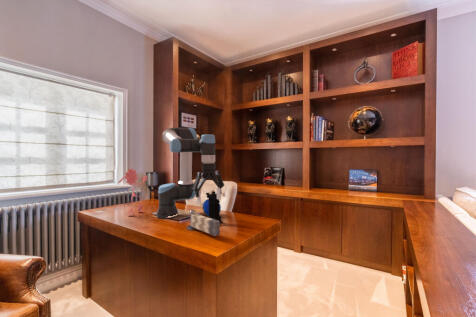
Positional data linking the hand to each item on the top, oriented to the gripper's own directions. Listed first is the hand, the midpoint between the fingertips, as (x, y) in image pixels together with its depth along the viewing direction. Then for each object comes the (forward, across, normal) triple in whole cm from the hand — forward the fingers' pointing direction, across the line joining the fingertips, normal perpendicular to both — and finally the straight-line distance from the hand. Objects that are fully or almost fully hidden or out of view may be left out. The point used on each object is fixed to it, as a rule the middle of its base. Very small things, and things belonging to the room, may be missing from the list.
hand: (209, 201), depth 128 cm
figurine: (+20, -13, +81) cm, 85 cm away
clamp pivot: (+19, 0, +17) cm, 26 cm away
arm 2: (+17, +1, +4) cm, 18 cm away
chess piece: (+20, +16, +16) cm, 30 cm away
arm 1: (+17, -1, +4) cm, 18 cm away
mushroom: (+20, +25, +31) cm, 44 cm away
